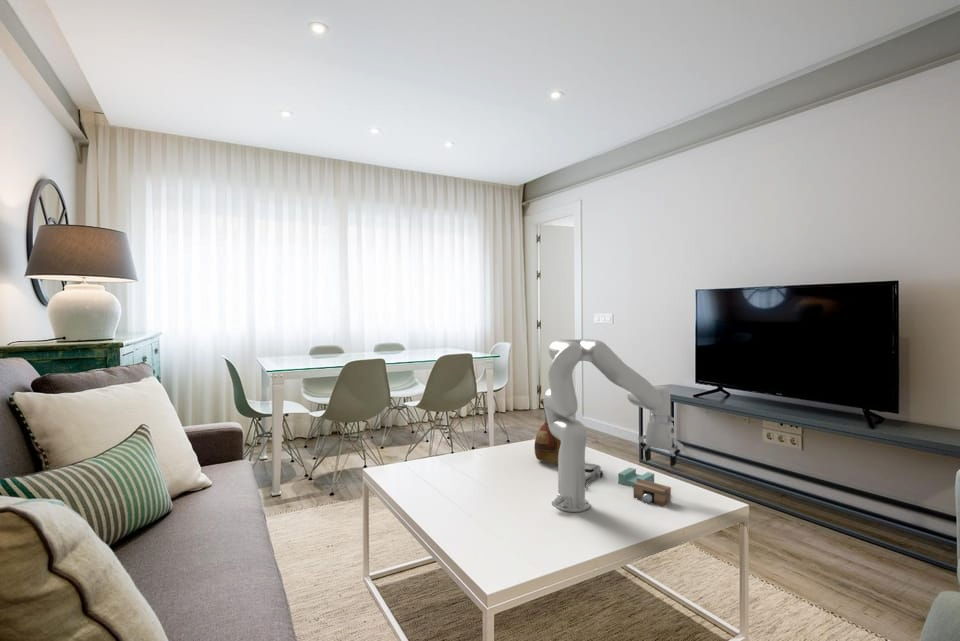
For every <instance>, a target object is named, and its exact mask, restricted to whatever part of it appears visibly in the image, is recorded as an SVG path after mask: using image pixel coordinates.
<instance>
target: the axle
mask: <svg viewBox="0 0 960 641" xmlns="http://www.w3.org/2000/svg"><path fill="white" fill-rule="evenodd" d="M641 502H642V503H643V502H644V504H646V503H647V505H648V504H651V503H652V502H654V493H652V492H648V493H647V494H645V495H643V496H642V500H641Z"/></svg>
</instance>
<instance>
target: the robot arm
mask: <svg viewBox="0 0 960 641" xmlns="http://www.w3.org/2000/svg"><path fill="white" fill-rule="evenodd" d="M548 354H549V357H550V358H551V359H552V362H551V364H550V366H549V369H548V374H547V375H548V376H547V378H548V383H549V388H548V389H547V390H546V391H545V393H544V396H543V398H542V399H543V403H544V407H543V410H544V409H545V412H544V414H545V413H546V418H547V422H548V426H549V429H550V432H551V433H552V435H553V436H554V437H556V438H557V439H559V440H560V441H561V445H560V449H559V454H558V463H557V464H558V466H557V467H558V473H557V474H558V476H557V479H558V480H557V482H558V483H557V484H558V485H557V486H558V490H557V492H558V493H557V495H556V496H557V497H555V499H554V500H553V501H552V502H551V505H552V507H554V508H555V507H556V508H557V509H559V510H560V511H563V512H569V513H570V512H571V513H580V512H584V511H585V512H586V511H587V510H588V509H589V508H590V502H589V500H588V499H586V488H585V464H586V448H587V447H586V446H587V441H588V431H587V428H586V426H585V424H583V423H582V422H581V421H579V420H578V419H576V418H574V417H573V416H574V415H575V414H576V413H577V412H578V407H579V405H578V399H577V395H576V391H575V386H574V380H573V372H574V369H575V367H576V366H577V365H578V364H579V362H589V363H591V364H592V365H593V366H594V367H595V368H596V369H597V370H598V371H599V372H600V373H601V374H603V376H604V377H605V378H606V379H608V381H610V382H611V383H612V384H614V385H616V386H618V387H620V388H621V389H624V390H626V391H627V399H628V400H627V401H629V403H631V404H632V405H633V406H636V407H639V408H643V409H645V410H648V411H649V415H648V416H649V420H648V421H647V425H646V429H645V434H644V435H640V436H639V437H638V438H637V439H638V441H639V444H640V446H641V447H642V449H643V451H644V458H645V461H646V462H648V461H650V460H651V459H652V450H651V448H652V449H653V448H655V449H660V450H665V451H668V452H669V453H670V458H669V459H670V467H671V468H672V467H673V468H674V466H675V465H676V464H677V458H678V457H677V456H678V454H680V453H681V452H682V450H683V448H684V444H683V443H681V442H680V441H678V440H677V439H676V431H675V427H674V423H673V422H674V421H675V418H674V417H672V415H671V390H670V388H669V387H668V386H665V385H653V384H652V383H650V381H649V380H647V379H646V378H645V377H644V376H642V375H641V374H640V373H638V372H636V370H634V369H633V368H631V367H630V366H629V365H628V364H626V363H625V362H624V361H623V360H622V359H621V358H620V357H619V356H618V355H617V354H616V353H615V352H614V351H613V350H612V348H610V347H609V346H608V344H606V343H605V342H603V341H602V340H599V339H598V340H596V339H590V338H589V339H588V338H583V339H582V338H581V339H556V340H554V341H552V342H551V344H550V345H549V347H548ZM644 440H645V441H644ZM676 446H677V449H676Z"/></svg>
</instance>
